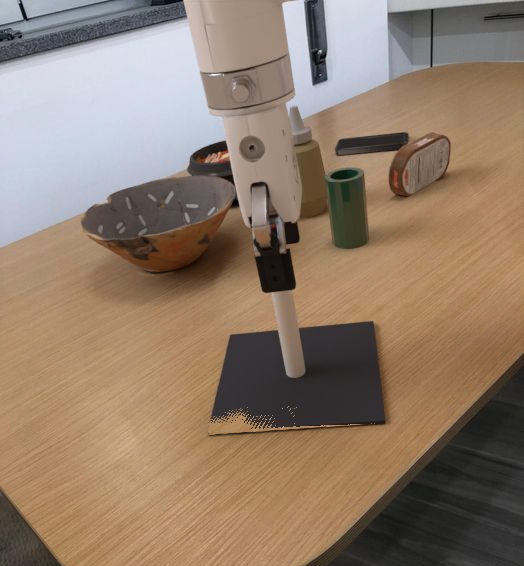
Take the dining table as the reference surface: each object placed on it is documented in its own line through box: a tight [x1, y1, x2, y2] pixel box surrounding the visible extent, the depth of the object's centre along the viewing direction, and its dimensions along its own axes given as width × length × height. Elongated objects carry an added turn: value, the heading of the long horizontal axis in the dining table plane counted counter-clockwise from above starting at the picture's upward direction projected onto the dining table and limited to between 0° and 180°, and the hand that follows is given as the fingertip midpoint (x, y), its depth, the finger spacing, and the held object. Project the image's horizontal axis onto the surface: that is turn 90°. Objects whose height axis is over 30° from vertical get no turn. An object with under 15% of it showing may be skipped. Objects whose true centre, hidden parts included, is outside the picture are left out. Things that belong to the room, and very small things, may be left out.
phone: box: [334, 131, 410, 156], centre depth 128 cm, size 8×1×15 cm
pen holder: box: [325, 167, 370, 250], centre depth 89 cm, size 6×6×11 cm
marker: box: [270, 247, 306, 378], centre depth 63 cm, size 2×2×16 cm
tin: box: [388, 132, 452, 197], centre depth 103 cm, size 15×3×8 cm, turn 133°
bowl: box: [79, 175, 236, 273], centre depth 96 cm, size 25×25×10 cm
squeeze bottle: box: [288, 105, 328, 219], centre depth 100 cm, size 8×8×18 cm
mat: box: [209, 320, 386, 429], centre depth 68 cm, size 18×18×1 cm
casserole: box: [186, 139, 238, 202], centre depth 118 cm, size 25×19×8 cm
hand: (282, 265), depth 60 cm, fingers open, 9 cm apart
